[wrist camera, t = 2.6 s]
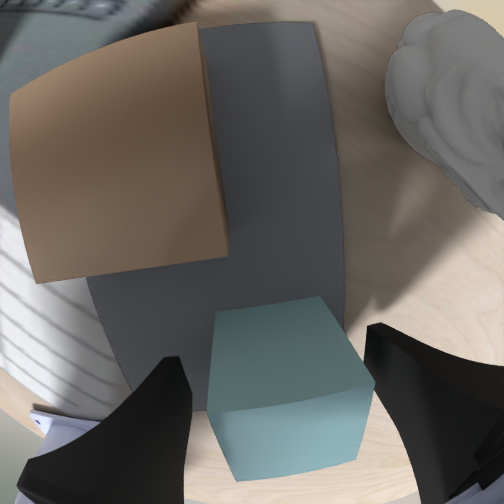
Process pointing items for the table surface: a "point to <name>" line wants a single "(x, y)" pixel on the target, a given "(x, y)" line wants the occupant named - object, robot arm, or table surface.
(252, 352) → the teal block
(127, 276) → the mat
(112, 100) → the walnut slab
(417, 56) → the grey rounded lumpy piece
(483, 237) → the table surface
